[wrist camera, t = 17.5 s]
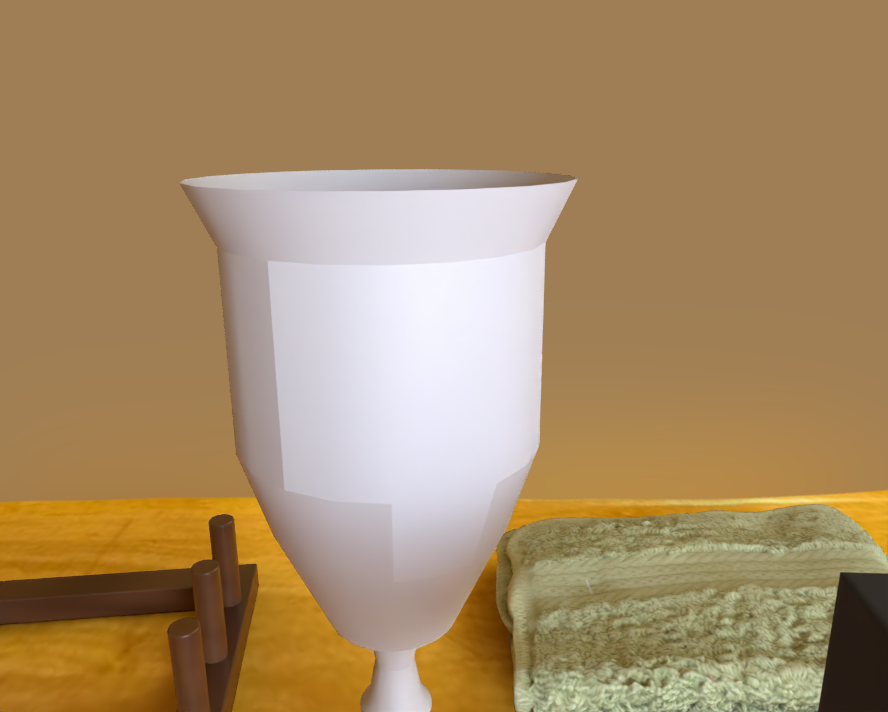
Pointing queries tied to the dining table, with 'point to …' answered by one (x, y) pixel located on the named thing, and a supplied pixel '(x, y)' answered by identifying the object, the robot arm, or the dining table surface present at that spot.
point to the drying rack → (190, 640)
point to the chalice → (385, 382)
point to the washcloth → (677, 609)
